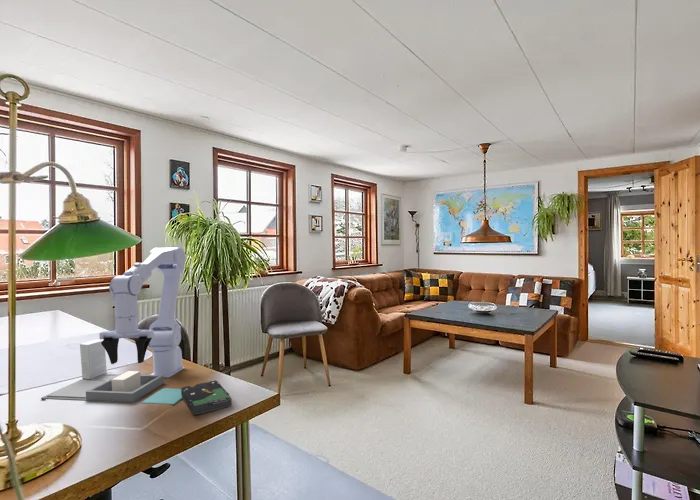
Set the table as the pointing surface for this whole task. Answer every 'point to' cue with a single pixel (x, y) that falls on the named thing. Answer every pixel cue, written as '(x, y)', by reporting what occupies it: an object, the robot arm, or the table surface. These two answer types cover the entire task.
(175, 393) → the teal pad
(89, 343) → the skincare box
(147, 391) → the case
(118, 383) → the block
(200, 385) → the disk drive
